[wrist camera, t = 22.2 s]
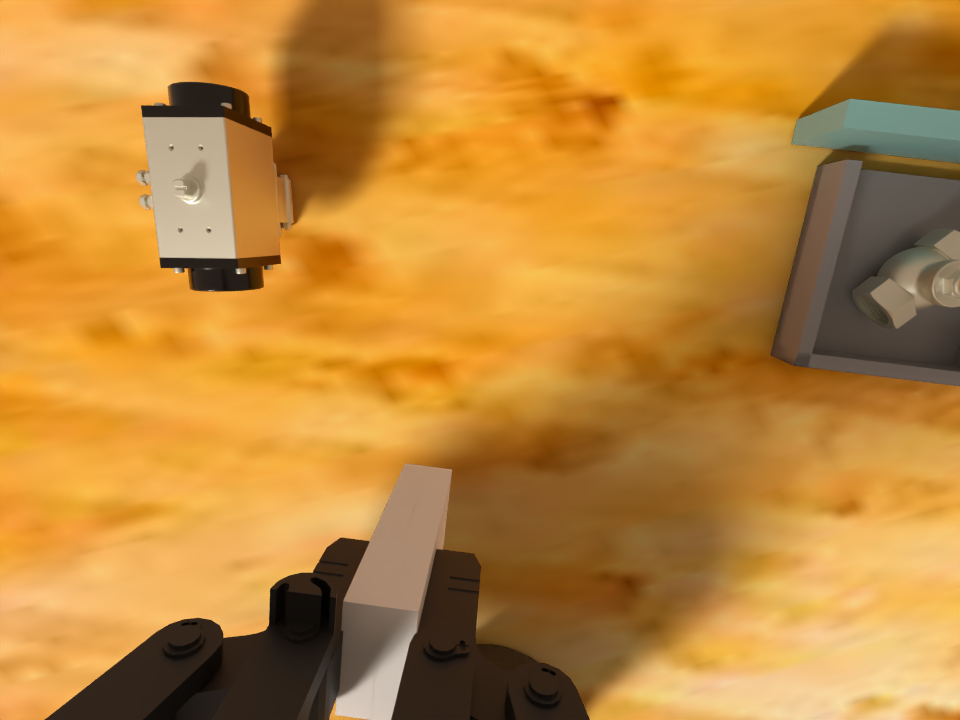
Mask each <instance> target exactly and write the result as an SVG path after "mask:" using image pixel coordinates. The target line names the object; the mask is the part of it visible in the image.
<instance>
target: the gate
mask: <svg viewBox="0 0 960 720" xmlns="http://www.w3.org/2000/svg"><path fill="white" fill-rule="evenodd" d="M792 144H795V145H804V146H813V147H822V148H830V149H839V150H848V151H857V152H865V153H874V154H883V155H892V156H900V157H909V158H918V159H926V160H935V161H944V162H953V163H960V111H957V110H948V109H939V108H930V107H921V106H912V105H903V104H894V103H886V102H877V101H868V100H859V99H848V100H846V101H843V102H841V103H838V104H836V105H833V106H831V107H828V108H826V109H823V110H821V111H818V112H816V113H813V114H811V115H808V116H806V117H803V118H801V119H798V120H797V123H796V127H795V131H794V136H793V140H792Z"/></svg>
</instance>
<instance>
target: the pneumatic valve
mask: <svg viewBox="0 0 960 720" xmlns="http://www.w3.org/2000/svg"><path fill="white" fill-rule="evenodd" d="M168 95H169V104H170V106H166V105H165V104H163V103H155V106H141V109H142V117H143V126H144V134H145V142H146V150H147V159H148V167H149V170H148V171H145V170H140V171H138V172H137V174H136V178H137V181H138V183H139V184H141V185H145V186H147V185H148V184H149V185H151V192H152V195H150V196H149V195H142V196H140V199H139V202H140V205H141V207H142V208H144V209H146V210H150V209H151V208H152V209H154V216H155V225H156V233H157V241H158V249H159V257H161V258H160V266H161V268H174V272H175V273H184V272H185V271H184V268H188V276H189V285H190V289H191V290H195V291H216V292H218V291H244V290H255V289H260V288H263V287H264V280H263V268H262V266H264V270H273V265H274V264H281V258H280V244H279V237H281V225H280V223H282V224H283V228H285V230H290V228H291V224H292V223H294V216H293V201H292V185H291V180H290V179H289V178H288V175H280V177H277V169H276V163H274V160H273V146H272V132H271V127H269V126H267V125H265V124H262V119H261V118H252V119H251V117H250V104H249V96H248V94H246V93H245V92H243V91H241V90H239V89H236V88H232V87H228V86H224V85H219V84H212V83H202V82H179V83H173V84H171V85H169V86H168Z"/></svg>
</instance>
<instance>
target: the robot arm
mask: <svg viewBox="0 0 960 720" xmlns="http://www.w3.org/2000/svg"><path fill="white" fill-rule="evenodd" d="M451 476H452V469H445V468H437V467H429V466H422V465H414V464H406V463H405V465H404V467H403V469H402V471H401V474H400V476H399V478H398V480H397V483H396V485H395V487H394V489H393V491H392V494H391V496H390V498H389V500H388V503H387V505H386V507H385V509H384V511H383V514H382V516H381V518H380V520H379V523H378V525H377V527H376V529H375V531H374V534H373V536H372V538H371V540H370V541H363V540H356V539H348V538H340V539H338V540H337V541H335V542H334V543H333V544H331V545H330V546H328V547H327V548H326V550H325V552H324V553H323V555H322V557H321V559H320V560H319V563H318V564H317V565H316V567H315V569H314V571H313V573H299V574H294V575H290V576H287V577H285V578H283V579H281V580H280V581H278V582H277V583H276V584H275V585H274V586H273V587H272V588H271V589H270V614H269V626H268V627H267V629H266V630H265V631H263V632H260V633H257V634H251V635H246V636H237V637H228V638H223V632H222V630H221V627H220V625H218V624H216V623H215V622H213V621H212V620H208V619H202V618H193V619H184V620H181V621H178V622H175V623H172V624H169V625H168V626H166V627H164V628H163V629H161V630H159V631H158V632H156V633H155V634H153V635H152V636H151V637H150V638H148V639H147V640H146V641H145V642H143V643H142V644H141V645H139V646H138V647H137V648H136V649H134V650H133V651H132V652H131V653H129V654H128V655H127V656H125V657H124V658H123V659H122V660H120V661H119V662H118V663H117V664H115V665H114V666H113V667H111V668H110V669H109V670H108V671H106V672H105V673H104V674H103V675H101V676H100V677H99V678H97V679H96V680H95V681H94V682H92V683H91V684H90V685H88V686H87V687H86V688H85V689H83V690H82V691H81V692H80V693H78V694H77V695H76V696H74V697H73V698H72V699H71V700H69V701H68V702H67V703H66V704H64V705H63V706H62V707H60V708H59V709H58V710H57V711H55V712H54V713H53V714H52V715H50V716H49V717H48V718H46V719H45V720H329V716H330V713H331V711H332V708H333V705H334V703H335V700H336V697H337V700H336V715H340V716H348V717H355V718H362V719H369V720H590V719H589V717H588V714H587V712H586V710H585V707H584V705H583V703H582V700H581V698H580V696H579V693H578V691H577V689H576V687H575V685H574V684H573V682H572V681H571V679H570V678H569V677H568V676H567V675H565V674H564V673H563V672H562V671H560V670H559V669H557V668H555V667H553V666H550V665H548V664H543V663H537V662H535V661H534V660H532V659H531V658H529V657H527V656H525V655H524V654H521V653H519V652H517V651H514V650H511V649H508V648H504V647H499V646H492V645H476V639H475V633H476V621H477V608H478V596H479V582H480V571H481V566H480V564H479V562H478V561H477V559H476V557H475V555H474V554H471V553H464V552H456V551H449V550H443V547H444V538H445V529H446V520H447V512H448V503H449V494H450V485H451Z"/></svg>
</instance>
